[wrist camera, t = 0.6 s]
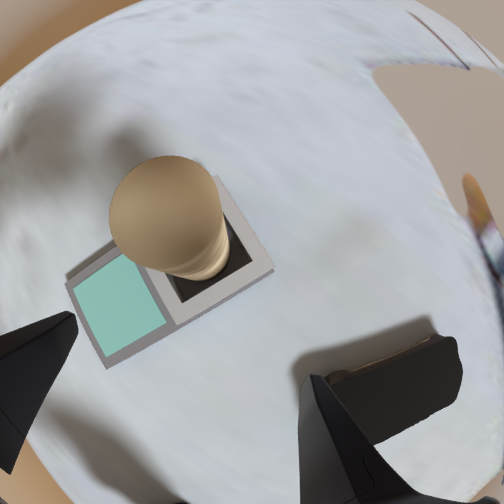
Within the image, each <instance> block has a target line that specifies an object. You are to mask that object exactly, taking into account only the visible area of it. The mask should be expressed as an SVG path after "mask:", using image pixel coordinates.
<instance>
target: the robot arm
mask: <svg viewBox="0 0 504 504" xmlns="http://www.w3.org/2000/svg"><path fill="white" fill-rule="evenodd" d="M77 335H78V325H77V320H76V316H75V314H73V313H71V312H69V311H64V312H61V313H58V314H56V315H53V316H50V317H48V318H45V319H43V320H40V321H37V322H35V323H32V324H30V325H27V326H24V327H22V328H19V329H17V330H14V331H12V332H9V333H6V334H4V335H1V336H0V468H1V469H2V470H4V471H5V472H6V473H8V474H9V475H10V474H11V472H12V470H13V467H14V465H15V462H16V460H17V457H18V455H19V452H20V450H21V447H22V445H23V443H24V440H25V438H26V436H27V434H28V431H29V429H30V427H31V425H32V423H33V421H34V419H35V417H36V415H37V413H38V411H39V409H40V407H41V405H42V403H43V401H44V399H45V397H46V395H47V393H48V391H49V390H50V388H51V386H52V384H53V382H54V381H55V379H56V377H57V375H58V374H59V372H60V370H61V368H62V367H63V365H64V363H65V361H66V359H67V357H68V354H69V352H70V350H71V348H72V346H73V344H74V342H75V340H76V338H77ZM369 442H370V441H369V440H368V438H367V437H366V436H365V434H364V433H363V432H362V430H361V429H360V428H359V426H358V425H357V424H356V422H355V421H354V420H353V418H352V417H351V416H350V414H349V413H348V412H347V410H346V409H345V408H344V406H343V405H342V403H341V402H340V401H339V399H338V398H337V397H336V395H335V394H334V393H333V391H332V390H331V388H330V387H329V386H328V384H327V383H326V382H325V380H324V379H323V378H322V376H321V375H319V374H312V373H311V374H309V375H308V376H307V378H306V380H305V382H304V383H303V385H302V387H301V391H300V404H299V418H298V445H299V470H300V504H500V502H499V501H498V500H497V499H495V498H493V497H489V496H485V497H483V498H481V499H480V500H478V501H476V502H472V503H463V502H457V501H451V500H446V499H441V498H436V497H432V496H428V495H424V494H421V493H419V492H417V491H416V490H414V489H413V488H412V487H411V486H410V485H408V484H407V483H406V482H405V481H404V480H403V479H402V478H401V477H400V476H399V475H398V474H397V473H396V472H395V471H394V469H393V468H392V467H391V466H390V465H389V464H388V463H387V462H386V461H385V460H384V459H383V457H382V456H381V455H380V454H379V453H378V451H377V450H376V449H375V447H374V446H373V445H372V444H371V443H369ZM0 504H8V503H7V502H5V501H4V500H3V499H2V498H1V497H0ZM178 504H186V503H178Z"/></svg>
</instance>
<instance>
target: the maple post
mask: <svg viewBox="0 0 504 504" xmlns="http://www.w3.org/2000/svg"><path fill="white" fill-rule="evenodd" d="M109 225H110V230H111V234H112V237H113V240H114V242H115V243H116V245H117V247H118V248H119V250H120V251H121V252H122V253H123V254H124V255H125V256H126V257H127V258H129V259H130V260H131V261H133V262H135V263H137V264H139V265H142V266H144V267H148V268H151V269H154V270H158V271H161V272H164V273H168V274H171V275H175V276H178V277H182V278H185V279H189V280H192V281H197V282H205V281H209V280H212V279H214V278H216V277H218V276H219V275H220V274H221V273H222V272H223V271H224V270H225V268H226V267H227V265H228V263H229V260H230V253H231V250H230V244H229V239H228V235H227V230H226V225H225V221H224V216H223V211H222V207H221V202H220V197H219V192H218V189H217V186H216V184H215V182H214V180H213V178H212V177H211V175H210V174H209V173H208V172H207V171H206V170H205V169H204V168H203V167H202V166H201V165H199V164H198V163H196V162H194V161H192V160H190V159H187V158H184V157H180V156H162V157H157V158H153V159H150V160H148V161H145V162H144V163H142V164H140V165H138V166H137V167H136V168H134V169H133V170H132V171H131V172H129V173H128V174H127V175H126V177H125V178H124V179H123V180H122V181H121V183H120V184H119V186H118V187H117V189H116V191H115V193H114V196H113V198H112V201H111V205H110V211H109Z"/></svg>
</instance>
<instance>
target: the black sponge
mask: <svg viewBox="0 0 504 504" xmlns="http://www.w3.org/2000/svg"><path fill="white" fill-rule="evenodd" d="M462 376H463V369H462V364H461V361H460V359H459V355H458V347H457V342H456V340H455V338H453V337H450V336H449V337H444V336H441V335H438V334H431V335H430V336H429V337H428V338H427V339H425V340H423V341H421V342H419V343H418V344H415V345H413V346H411V347H409V348H407V349H405V350H402V351H400V352H398V353H396V354H393V355H391V356H388V357H386V358H383V359H380V360H377V361H375V362H371V363H369V364H366V365H364V366H361V367H359V368H357V369H354V370H351V371H350V370H349V371H346V370H340V371H336V372H333V373H331V374H329V375H328V376H327V377H326V378H325V379H324V380H325V382H326V383H327V384H328V386H329V387H330V388H331V390H332V391H333V393H334V394H335V395H336V397H337V398H338V399H339V401H340V402H341V403H342V405H343V406H344V408H345V409H346V410H347V412H348V413H349V414H350V416H351V417H352V418H353V420H354V421H355V422H356V424H357V425H358V426H359V428H360V429H361V430H362V432H363V433H364V434H365V436H366V437H367V438H368V440H369V441H370V442H369V443H371V444H372V445H375V444H378V443H381V442H383V441H385V440H387V439H389V438H390V437H392V436H394V435H396V434H398V433H400V432H402V431H404V430H405V429H407V428H409V427H411V426H414V425H415V424H417V423H419V422H420V421H422V420H424V419H426V418H428V417H429V416H430V415H432V414H434V413H435V412H437V411H439V410H441V409H443V408H445V407H447V406H449V405H451V404H452V403H453V402H454V401H455V400H456V398H457V395H458V392H459V389H460V386H461V382H462Z"/></svg>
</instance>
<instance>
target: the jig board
mask: <svg viewBox="0 0 504 504" xmlns="http://www.w3.org/2000/svg"><path fill="white" fill-rule="evenodd" d="M212 178H213V180H214V182H215V184H216V186H217V189H218V192H219V197H220V202H221V207H222V211H223V216H224V221H225V225H226V230H227V235H228V239H229V244H230V250H231V253H230V260H229V263H228V265H227V267H226V268H225V270H224V271H223V272H222V273H221V274H220V275H219V276H218V277H216V278H214V279H212V280H209V281H205V282H197V281H192V280H189V279H185V278H182V277H178V276H175V275H171V274H168V273H164V272H161V271H158V270H154V269H151V268H148V267H144V266H142V265H139V264H137V263H135V262H133V261H131V260H130V259H129V258H127V257H126V256H125V255H124V254H123V253H122V252H121V251H120V250H119V248H118V247H117V246H116V247H114V248H113V249H111V250H110V251H108V252H107V253H106V254H104V255H103V256H101V257H100V258H99V259H97V260H96V261H94V262H93V263H92V264H90V265H89V266H87V267H86V268H85V269H83V270H82V271H81V272H79V273H78V274H77V275H75V276H74V277H73V278H71V279H70V280H69V281H67V282H66V283H65V286H66V289H67V291H68V294H69V296H70V298H71V301H72V303H73V305H74V308H75V310H76V312H77V314H78V317H79V319H80V321H81V323H82V325H83V327H84V329H85V331H86V333H87V335H88V337H89V339H90V341H91V343H92V345H93V347H94V349H95V350H96V352H97V354H98V356H99V358H100V360H101V361H102V363H103V365H104V366H105V368H106V370H107V369H109V368H110V367H112V366H114V365H116V364H118V363H120V362H121V361H123V360H125V359H127V358H129V357H130V356H132V355H134V354H136V353H138V352H139V351H141V350H143V349H145V348H147V347H148V346H150V345H152V344H154V343H155V342H157V341H159V340H161V339H162V338H164V337H166V336H168V335H169V334H171V333H173V332H175V331H176V330H178V329H180V328H182V327H183V326H185V325H187V324H188V323H190V322H192V321H194V320H195V319H197V318H199V317H200V316H202V315H204V314H205V313H207V312H209V311H211V310H212V309H214V308H216V307H217V306H219V305H221V304H222V303H224V302H226V301H227V300H229V299H231V298H232V297H234V296H236V295H237V294H239V293H241V292H242V291H244V290H245V289H247V288H249V287H250V286H252V285H254V284H255V283H257V282H259V281H260V280H262V279H263V278H265V277H267V276H268V275H270V274H271V273H273V272H274V270H273V268H274V267H275V265H274V263H273V261H272V260H271V258H270V257H269V255H268V253H267V252H266V250H265V249H264V247H263V245H262V244H261V242H260V241H259V239H258V237H257V236H256V234H255V233H254V231H253V230H252V228H251V226H250V225H249V223H248V222H247V220H246V218H245V217H244V215H243V214H242V212H241V211H240V209H239V207H238V206H237V204H236V203H235V201H234V200H233V198H232V196H231V195H230V193H229V192H228V190H227V189H226V187H225V185H224V184H223V182H222V181H221V179H220V178H219V176H218V174H217V175H215V176H214V177H212Z"/></svg>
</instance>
